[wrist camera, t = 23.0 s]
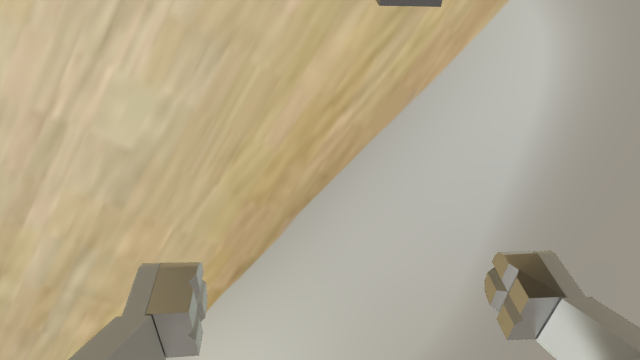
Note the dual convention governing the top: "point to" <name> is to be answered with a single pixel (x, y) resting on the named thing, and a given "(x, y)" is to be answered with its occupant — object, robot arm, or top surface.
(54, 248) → the top surface
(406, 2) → the dark grey open box
